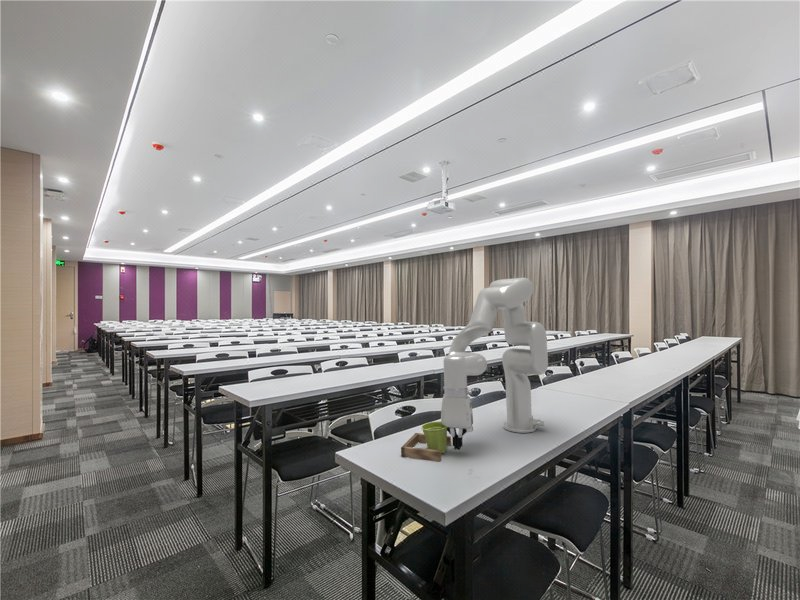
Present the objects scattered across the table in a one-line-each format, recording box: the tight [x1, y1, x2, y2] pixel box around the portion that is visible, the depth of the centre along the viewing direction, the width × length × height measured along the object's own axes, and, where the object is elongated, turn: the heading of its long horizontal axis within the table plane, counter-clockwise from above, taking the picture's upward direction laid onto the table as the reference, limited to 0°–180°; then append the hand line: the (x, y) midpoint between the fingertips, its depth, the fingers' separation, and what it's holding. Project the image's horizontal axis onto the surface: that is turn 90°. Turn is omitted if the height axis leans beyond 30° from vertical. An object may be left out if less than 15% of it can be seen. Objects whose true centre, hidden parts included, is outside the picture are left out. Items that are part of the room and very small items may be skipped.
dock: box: [400, 432, 452, 463], centre depth 124 cm, size 13×15×3 cm
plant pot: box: [420, 421, 448, 454], centre depth 123 cm, size 9×9×9 cm
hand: (457, 448), depth 120 cm, fingers closed
